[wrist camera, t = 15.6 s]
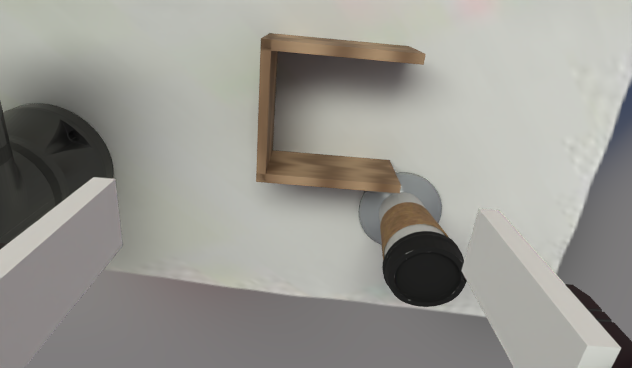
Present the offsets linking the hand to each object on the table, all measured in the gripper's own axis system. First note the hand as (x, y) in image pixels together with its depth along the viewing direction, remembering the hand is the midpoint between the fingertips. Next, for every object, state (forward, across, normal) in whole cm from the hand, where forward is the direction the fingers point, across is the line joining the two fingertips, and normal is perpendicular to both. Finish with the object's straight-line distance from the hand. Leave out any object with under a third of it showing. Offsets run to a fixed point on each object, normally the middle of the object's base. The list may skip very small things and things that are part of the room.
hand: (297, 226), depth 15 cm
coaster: (+37, +14, -17) cm, 43 cm away
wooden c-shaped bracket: (+37, +3, -4) cm, 37 cm away
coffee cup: (+36, +14, -17) cm, 42 cm away
